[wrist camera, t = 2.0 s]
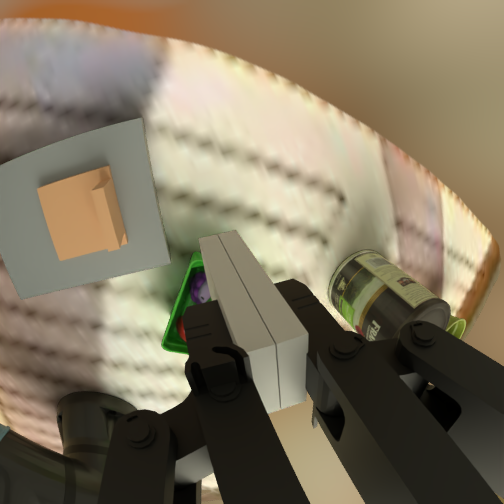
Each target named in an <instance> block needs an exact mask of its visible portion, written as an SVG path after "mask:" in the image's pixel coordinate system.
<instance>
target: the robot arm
mask: <svg viewBox="0 0 504 504" xmlns="http://www.w3.org/2000/svg"><path fill="white" fill-rule="evenodd" d="M198 239H199V244H200V249H201V254H202V259H203V264H204V269H205V273H206V278H207V283H208V287H209V292H210V296H211V299H212V301H209V302H205V303H200V304H196V305H192V306H188V307H187V308H186V310H185V312H184V315H183V317H182V320H183V326H184V331H185V337H186V343H187V348H188V354H189V358H188V360H187V362H186V363H185V375H186V378H187V380H188V382H189V385H190V387H191V389H192V390H191V392H190V394H189V395H188V397H187V398H186V399H185V400H184V401H183V402H182V403H180V404H179V405H177V406H176V407H174V408H172V409H170V410H168V411H166V412H164V413H162V414H158V413H157V412H155V411H150V410H145V409H144V410H137V409H136V408H134V407H133V406H132V405H130V404H129V403H127V402H125V401H123V400H121V399H119V398H116V397H113V396H110V395H106V394H102V393H96V392H77V393H72V394H69V395H67V396H65V397H63V398H62V399H61V400H60V402H59V404H58V409H57V424H58V428H59V432H60V437H61V441H62V445H63V455H62V454H60V453H57V452H55V451H53V450H51V449H48V448H46V447H44V446H42V445H40V444H37V443H35V442H33V441H31V440H29V439H27V438H25V437H24V436H22V435H20V434H18V433H16V432H14V431H13V430H11V429H10V427H9V426H4V425H2V424H0V504H201V483H202V479H203V478H205V477H207V476H208V475H210V474H212V473H214V474H215V477H216V481H217V484H218V487H219V491H220V494H221V497H222V500H223V503H224V504H310V502H309V500H308V498H307V496H306V494H305V492H304V490H303V488H302V486H301V484H300V482H299V480H298V478H297V476H296V474H295V472H294V470H293V468H292V466H291V463H290V461H289V459H288V457H287V455H286V453H285V451H284V449H283V446H282V444H281V442H280V440H279V438H278V436H277V433H276V431H275V429H274V427H273V425H272V422H271V420H270V418H269V416H268V414H269V413H272V412H275V411H278V410H280V408H281V409H284V408H287V407H290V406H293V405H296V404H299V403H301V402H304V401H306V394H307V392H308V393H309V395H310V397H311V399H312V400H313V402H314V403H313V414H312V425H313V428H315V427H317V422H319V424H320V426H321V428H322V430H323V431H324V433H325V435H326V437H327V438H328V440H329V442H330V444H331V445H332V447H333V449H334V451H335V452H336V454H337V456H338V458H339V459H340V461H341V463H342V465H343V466H344V468H345V470H346V471H347V473H348V475H349V477H350V478H351V480H352V482H353V483H354V485H355V487H356V489H357V490H358V492H359V494H360V495H361V497H362V499H363V500H364V502H365V504H503V503H502V502H501V500H500V499H499V498H498V497H497V495H496V494H498V495H499V496H501V497H502V498H504V366H502V365H501V364H499V363H497V362H496V361H494V360H492V359H491V358H489V357H488V356H486V355H485V354H483V353H481V352H480V351H478V350H476V349H475V348H473V347H472V346H470V345H468V344H467V343H465V342H463V341H462V340H460V339H458V338H457V337H455V336H453V335H452V334H450V333H448V332H447V331H445V330H443V329H442V328H440V327H438V326H437V325H435V324H433V323H430V322H428V321H421V320H417V321H411V322H409V323H407V324H405V325H404V326H403V327H402V328H401V330H400V332H399V336H398V338H392V339H385V340H378V341H368V340H367V339H366V338H365V337H363V336H362V335H361V334H358V333H355V332H352V331H345V330H344V329H343V328H342V327H341V326H340V325H339V323H338V322H337V321H336V320H335V319H334V318H333V316H332V315H331V314H330V313H329V312H328V311H327V309H326V308H325V307H324V306H323V305H322V304H321V303H320V302H319V300H318V299H317V298H316V297H315V296H314V295H313V293H312V292H311V291H310V290H309V288H308V287H307V286H306V285H305V284H303V283H301V282H299V281H297V280H295V279H290V280H286V281H282V282H279V283H275V284H273V282H272V281H271V279H270V278H269V277H268V275H267V274H266V272H265V271H264V269H263V268H262V267H261V265H260V264H259V262H258V261H257V259H256V258H255V257H254V255H253V254H252V252H251V251H250V249H249V248H248V247H247V245H246V244H245V242H244V241H243V239H242V238H241V237H240V235H239V234H238V232H237V231H236V230H234V231H229V232H225V233H220V234H218V235H217V234H215V235H211V236H206V237H202V238H198ZM429 382H430V383H431V384H433V385H434V386H433V385H429V384H428V383H429ZM494 492H495V493H496V494H495V493H494Z"/></svg>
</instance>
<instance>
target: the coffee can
mask: <svg viewBox="0 0 504 504" xmlns="http://www.w3.org/2000/svg"><path fill="white" fill-rule="evenodd" d="M328 295H329V301H330V303H331V305H332V306H333V307H334V308H335V309H336V310H337V311H338V312H339V313H340V314H341V315H342V316H343V317H344V319H345V320H346V321H347V322H348V323H349V324H350V325H351V326H352V328H353V329H354V330H355V331H356V332H357V333H358V334H361V335H362V336H363V337H365V338H366V339H367V340H368V341H378V340H385V339H392V338H398V336H399V332H400V330H401V328H402V327H403V326H404V325H405V324H407V323H409V322H411V321H417V320H421V321H428V322H430V323H433V324H435V325H437V326H438V327H440V328H442V329H443V330H446V328H447V325H448V323H449V319H450V314H451V310H450V306H449V304H448V303H447V302H445V301H444V300H442V299H440V298H438V297H437V296H436V295H434V294H433V293H432V292H430V291H429V290H428V289H427V288H425V287H424V286H423V285H421V284H420V283H419V282H417V281H416V280H414V279H413V278H412V277H410V276H409V275H408V274H406V273H405V272H403V271H402V270H401V269H399V268H398V267H397V266H395V265H394V264H392V263H391V262H389V261H388V260H387V259H385V258H384V257H382V256H381V255H380V254H379V253H378V252H376V251H373V250H363V251H359V252H357V253H355V254H353V255H351V256H350V257H349V258H347V259H346V260H345V261H344V262H343V263H342V264H341V265H340V266H339V267H338V269H337V270H336V272H335V273H334V275H333V277H332V279H331V282H330V285H329V292H328Z"/></svg>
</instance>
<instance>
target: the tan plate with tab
mask: <svg viewBox="0 0 504 504" xmlns="http://www.w3.org/2000/svg"><path fill="white" fill-rule="evenodd" d="M37 191H38V195H39V199H40V203H41V206H42V210H43V213H44V216H45V220H46V223H47V226H48V229H49V232H50V235H51V238H52V241H53V244H54V247H55V249H56V252H57V255H58V258H59V260H60V261H63V260H66V259H70V258H74V257H78V256H81V255H85V254H89V253H93V252H97V251H101V250H105V249H108V252H110V251H114V250H118V249H120V247H121V245H125V244H128V237H127V234H126V230H125V227H124V223H123V219H122V215H121V211H120V207H119V203H118V199H117V195H116V191H115V187H114V182H113V178H112V173H111V168H110V165H108V166H104V167H100V168H97V169H93V170H90V171H87V172H83V173H80V174H77V175H74V176H70V177H67V178H64V179H61V180H58V181H55V182H52V183H49V184H46V185H44V186H41V187H39V188H37Z"/></svg>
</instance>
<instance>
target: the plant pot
mask: <svg viewBox="0 0 504 504" xmlns="http://www.w3.org/2000/svg"><path fill="white" fill-rule="evenodd" d="M465 326H466V321H465V320H464V319H463V318H460V319H459V318H457V317H454V316H452V315H450V319H449V323H448V325H447V328H446V330H445V331H447V332H448V333H450V334H452V335H453V336H455V337H457V338H458V339H460V338H461V336H462V334H463V332H464V330H465Z"/></svg>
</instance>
